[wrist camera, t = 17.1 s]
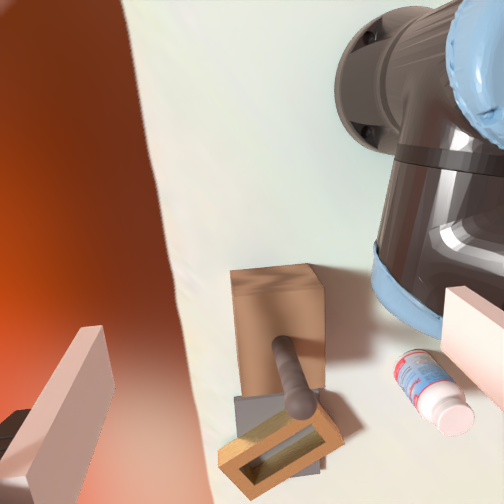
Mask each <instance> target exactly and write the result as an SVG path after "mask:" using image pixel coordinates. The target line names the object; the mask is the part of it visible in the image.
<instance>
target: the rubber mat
mask: <svg viewBox="0 0 504 504" xmlns="http://www.w3.org/2000/svg"><path fill="white" fill-rule="evenodd" d="M311 390H312V391H313V392H314V393H315V395H316V398H317V401H318V402H319V390H318V388H316V389H311ZM284 399H285V393H284V392H283V393H275V394H267V395H259V396H250V397H242V396H238V397H234V405H235V416H236V426H237V437H240V436H242V435H243V434H245V433H246V432H248V431H250V430H251V429H253V428H254V427H256V426H258V425H259V424H261V423H262V422H264V421H266V420H267V419H269V418H270V417H272V416H274V415H275V414H277V413H278V412H280V411H282V410H283V409H285V405H284ZM314 430H316V429H315V428H314V427H313V426H312V424H310V425H308V426H307V427H305V428H304V429H302V430H300V431H299V432H297V433H295V434H294V435H292V436H291V437H289V438H287V439H286V440H284V441H282V442H281V443H279V444H278V445H276V446H274V447H273V448H271V449H270V450H268V451H266V452H265V453H263V454H261V455H260V456H258V457H257V458H255V459H253V460H252V461H250V462H248V464H249V465H250V467H251V468H254V467H256V466H257V465H259V464H260V463H262V462H264V461H265V460H267V459H269V458H270V457H272V456H273V455H275V454H277V453H278V452H280V451H282V450H283V449H285V448H286V447H288V446H290V445H291V444H293V443H295V442H296V441H298V440H299V439H301V438H303V437H304V436H306V435H308V434H309V433H311V432H312V431H314ZM313 474H320V459H319V460H317V461H316V462H314V463H312V464H311V465H309V466H307V467H306V468H304V469H303V470H301V471H299V472H298V473H296V474H294V475H293V476H291V477H299V476H306V475H313ZM291 477H289V478H291Z"/></svg>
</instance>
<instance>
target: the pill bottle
mask: <svg viewBox="0 0 504 504" xmlns="http://www.w3.org/2000/svg"><path fill="white" fill-rule="evenodd" d="M393 375H394V378H395V380H396V381H397V383H398V384H399V385H400V387H401V388H402V390H403V391H404V392H405V394H406V395H407V397H408V398H409V399H410V401H411V402H412V404H413V405H414V406H415V408H416V409H417V411H418V412H419V413H420V415H421V416H422V417H423V418H424V419H425V420H426V421H428V422H430V423H433V424H435V426H436V427H437V428H438V429H439V431H440V432H441V433H442V434H444V435H446V436H458V435H461V434H463V433H465V432H466V431H468V430H469V429H470V428H471V426H472V425H473V422H474V418H475V416H474V412H473V410H472V409H471V408H470V406H469V405H468V404H467V403H466V399H465V395H464V392H463V391H462V389H461V388H460V387H459V386H458V385H457V384H456V382H455V381H454V380H453V379H452V378H451V377H450V376H449V375H448V374H447V373H446V372H445V370H444V369H443V368H442V367H441V366H440V365H439V364H438V363H437V362H436V361H435V360H434V359H433V357H432V356H431V355H430V354H428V353H427V352H425V351H422V350H413V351H409V352H406V353H405V354H403V355H401V356H400V357H399V358H398V359H397V360H396V362H395V364H394V367H393Z"/></svg>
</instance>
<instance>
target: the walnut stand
mask: <svg viewBox="0 0 504 504" xmlns="http://www.w3.org/2000/svg"><path fill="white" fill-rule="evenodd" d="M230 278H231V290H232V301H233V312H234V324H235V335H236V347H237V358H238V367H239V375H240V383H241V391H242V397H250V396H259V395H267V394H275V393H283V392H284V393H285V399H284V405H285V409H286V411H287V413H288V414H289V415H290V416H291V417H292V418H294V419H296V420H301V421H302V420H307V419H309V418H311V417H312V416H313V415H314V414H315V412H316V409H317V404H318V403H317V398H316V395H315V393H314V392H313V391H312V390H311V389H316V388H325V295H324V287H323V285H322V284H321V282H320V281H319V279H318V278H317V276H316V275H315V273H314V272H313V270H312V269H311V267H310V266H309V265H308V263H305V264H295V265H285V266H274V267H264V268H254V269H243V270H233V271H230Z"/></svg>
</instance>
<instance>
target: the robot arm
mask: <svg viewBox="0 0 504 504" xmlns="http://www.w3.org/2000/svg"><path fill="white" fill-rule="evenodd" d="M334 93H335V103H336V108H337V111H338V115H339V117H340V120H341V122H342V124H343V125H344V127H345V129H346V130H347V132H348V133H349V134H350V135H351V136H352V137H353V138H354V139H355V140H356V141H357V142H358V143H360V144H361V145H362V146H364V147H366V148H368V149H370V150H373V151H376V152H379V153H384V154H389V155H395V158H394V162H393V167H392V171H391V176H390V180H389V185H388V190H387V194H386V199H385V204H384V208H383V213H382V218H381V222H380V227H379V231H378V236H377V239H376V241H375V242H374V247H373V252H374V261H373V268H372V274H371V284H372V288H373V290H374V292H375V294H376V295H377V298H378V300H379V301H380V303H381V304H382V305H383V306H384V307H385V308H386V309H387V310H388V311H389V312H390V313H391V314H393V315H394V316H395V317H396V318H398V319H399V320H401V321H402V322H404V323H405V324H407V325H409V326H410V327H412V328H414V329H416V330H418V331H420V332H422V333H424V334H426V335H428V336H431V337H433V338H436V339H438V340H441V350H442V351H443V352H444V353H445V354H446V355H447V356H448V357H449V358H450V359H451V360H452V361H453V362H454V363H455V364H456V365H457V366H458V367H459V368H460V369H461V370H462V371H463V372H464V373H465V374H466V375H467V376H468V377H469V378H470V379H471V380H472V381H473V382H474V383H475V384H476V385H477V386H478V387H479V388H480V389H481V390H482V391H483V392H484V393H485V394H486V395H487V396H488V397H489V398H490V399H491V400H492V401H493V402H494V403H495V404H496V405H497V406H498V407H499V408H500V409H501V410H502V411H503V412H504V0H453V1H451V2H449V3H447V4H444V5H442V6H440V7H438V8H436V9H432V8H428V7H422V6H409V7H402V8H398V9H394V10H392V11H389V12H387V13H385V14H383V15H381V16H379V17H377V18H376V19H374V20H372V21H371V22H369V23H368V24H367V25H365V26H364V27H363V28H362V29H361V30H360V31H359V32H358V33H357V34H356V35H355V36H354V37H353V38H352V40H351V41H350V42H349V44H348V45H347V47H346V49H345V51H344V52H343V55H342V57H341V59H340V62H339V65H338V68H337V72H336V77H335V87H334ZM115 389H116V388H115V383H114V379H113V374H112V369H111V364H110V360H109V355H108V350H107V345H106V341H105V336H104V331H103V326H102V325H101V326H91V327H82V328H80V330H79V332H78V334H77V335H76V337H75V338H74V340H73V342H72V343H71V345H70V346H69V348H68V350H67V352H66V353H65V355H64V356H63V358H62V360H61V361H60V363H59V365H58V367H57V368H56V369H55V371H54V373H53V374H52V376H51V378H50V380H49V381H48V383H47V384H46V386H45V388H44V389H43V391H42V393H41V394H40V396H39V398H38V399H37V401H36V403H35V404H34V406H33V407H32V409H25V410H17V411H15V412H13V413H12V414H11V415H10V416H9V417H8V418H6V419H5V420H4V421H3V422H2V423H1V424H0V504H76V502H77V500H78V497H79V494H80V491H81V488H82V485H83V482H84V479H85V476H86V473H87V471H88V468H89V465H90V462H91V459H92V456H93V453H94V450H95V447H96V444H97V441H98V438H99V436H100V433H101V430H102V427H103V424H104V421H105V418H106V415H107V412H108V409H109V406H110V403H111V401H112V398H113V394H114V392H115Z"/></svg>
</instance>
